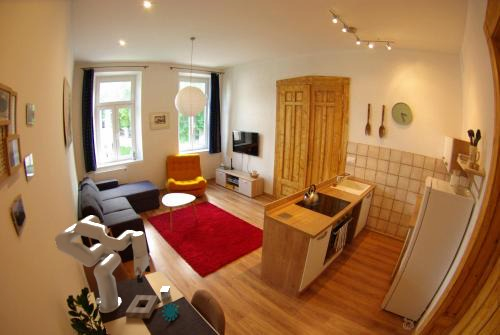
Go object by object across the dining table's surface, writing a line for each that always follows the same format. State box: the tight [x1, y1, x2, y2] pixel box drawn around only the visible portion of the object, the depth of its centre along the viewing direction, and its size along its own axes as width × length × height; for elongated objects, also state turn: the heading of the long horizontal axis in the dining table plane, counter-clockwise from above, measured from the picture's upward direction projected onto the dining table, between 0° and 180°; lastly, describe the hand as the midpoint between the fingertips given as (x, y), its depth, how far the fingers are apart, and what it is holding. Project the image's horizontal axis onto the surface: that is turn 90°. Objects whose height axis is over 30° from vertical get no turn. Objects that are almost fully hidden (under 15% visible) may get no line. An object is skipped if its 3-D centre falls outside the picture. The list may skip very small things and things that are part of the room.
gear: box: [161, 302, 180, 322], centre depth 153 cm, size 11×6×10 cm
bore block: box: [125, 294, 159, 319], centre depth 158 cm, size 14×14×4 cm
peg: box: [160, 285, 171, 301], centre depth 166 cm, size 4×4×7 cm
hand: (144, 276), depth 154 cm, fingers open, 9 cm apart
